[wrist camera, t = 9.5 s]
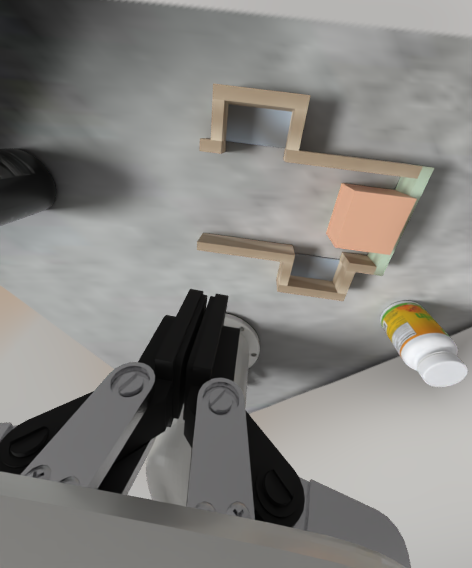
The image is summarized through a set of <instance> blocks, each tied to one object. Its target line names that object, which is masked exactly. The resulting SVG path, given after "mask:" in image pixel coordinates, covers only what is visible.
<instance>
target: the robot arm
mask: <svg viewBox="0 0 472 568" xmlns="http://www.w3.org/2000/svg"><path fill="white" fill-rule="evenodd" d="M227 302H228V296H226V295H221V294H216V295H215V297H213V296H211V297H210V299H209V302H208V305H207V308H206V303H207V295H203V291H199V290H193V289H190V290H189V292H188V294H187V296H186V298H185V300H184V302H183V304H182V306H181V308H180V310H179V312H178V314H177V316H176V317H174V316H169V315H166V316H165V317H164V318H163V320H162V321H161V323H160V325H159V327H158V328H157V330H156V332H155V333H154V335H153V337H152V339H151V340H150V342H149V344H148V346H147V347H146V349H145V351H144V353H143V354H142V356H141V358H140V360H139V361H138V362H131V363H127V364H123V365H121V366H119V367H117V368H115V369H114V370H113V371H112V372H111V373H110V374H109V375H108V376H107V377H106V378H105V379H104V381H103V382H102V383H101V384H100V385H99V386H98V387H97V388H96V390H95V391H93V392H91V393H89V394H86V395H84V396H82V397H79V398H77V399H75V400H73V401H70V402H68V403H66V404H63V405H61V406H59V407H57V408H54V409H52V410H50V411H47V412H45V413H43V414H41V415H38V416H36V417H34V418H31V419H29V420H27V421H25V422H23V423H22V424H20V425H18V426H12V424H11V423H0V568H411V565H410V560H409V555H408V551H407V548H406V545H405V542H404V539H403V537H402V536H401V534H400V532H399V531H398V529H397V527H396V526H395V525H394V524H393V523H392V522H391V521H390V519H389V518H388V517H387V516H385V515H384V514H382V513H381V512H379V511H378V510H376V509H374V508H372V507H369V506H367V505H365V504H363V503H361V502H359V501H357V500H355V499H352V498H350V497H348V496H346V495H344V494H342V493H340V492H337V491H335V490H333V489H331V488H329V487H327V486H324V485H322V484H320V483H318V482H316V481H314V480H312V479H311V480H310V482H308V481H306V480H304V479H302V478H300V477H298V475H297V474H296V472H295V470H294V469H293V468H292V467H291V465H290V464H289V463H288V462H287V461H286V459H285V458H284V457H283V456H282V455H281V453H280V452H279V451H278V450H277V448H276V447H275V446H274V445H273V443H272V442H271V441H270V440H269V439H268V437H267V436H266V435H265V434H264V432H263V431H262V430H261V429H260V428H259V426H258V425H257V424H256V423H255V422H254V420H253V419H252V418H251V417H250V415H249V414H248V413H247V412H246V410H245V408H246V394H247V379H248V368H250V367H251V366H252V365H253V364H254V363H255V362H256V360H257V358H258V356H259V352H260V343H259V338H258V336H257V334H256V332H255V331H254V329H253V328H252V327H251V326H250V325H249V324H248V323H247V322H245V321H243V320H242V319H240V318H238V317H236V316H233V315H230V314H226V308H227ZM146 458H147V462H146V476H147V483H148V487H149V491H150V494H151V497H152V500H149V499H144V498H139V497H134V496H129V495H127V494H128V492H129V490H130V488H131V486H132V485H133V483H134V481H135V479H136V477H137V475H138V473H139V471H140V469H141V467H142V465H143V463H144V461H145V459H146Z"/></svg>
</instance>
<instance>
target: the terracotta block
mask: <svg viewBox="0 0 472 568" xmlns="http://www.w3.org/2000/svg"><path fill="white" fill-rule="evenodd" d="M416 200H417V199H416V198H414V197H411V196H409V195H406V194H404V193H401V192H399V191H396V190H392V189H384V188H376V187H368V186H361V185H353V184H345V183H342V184H341V187H340V190H339V194H338V197H337V200H336V203H335V206H334V210H333V213H332V216H331V219H330V222H329V226H328V229H327V232H326V234H327V235H328V237H329V238H330V240H331V242H332V243H333V245H334V246H335V248H343V249H350V250H357V251H364V252H371V253H379V254H386V255H390V254H391V252H392V250H393V248H394V246H395V244H396V242H397V240H398V237H399V235H400V233H401V231H402V229H403V227H404V225H405V223H406V221H407V219H408V217H409V214H410V212H411V210H412V208H413V206H414V204H415V202H416Z"/></svg>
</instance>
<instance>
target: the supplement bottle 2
mask: <svg viewBox="0 0 472 568" xmlns="http://www.w3.org/2000/svg"><path fill="white" fill-rule="evenodd" d="M380 323H381V325H382V327H383V329H384V331H385V332H386V334H387V336H388V337H389V339H390V340H391V342H392V344H393V345H394V347H395V348H396V350H397V352H398V353H399V355H400V356H401V358H402V360H403V361H404V362H405V364H406V365H407V366H409V367H410V368H412V369H413V370H416V371H418V373H419V374H420V376H421V377H422V378H423V380H424V381H425V382H426V383H427V384H428V385H430V386H434V387H447V386H451V385H454V384H457V383H458V382H460V381H461V380H463V379H464V378H465V377H466V375H467V373H468V369H467V367H466V365H465V364H464V363H463V362H462V360H461V359H460V358H459V357H458V356H457V354H458V348H457V345H456V343H455V342H454V341H453V340H452V338H451V337H450V336H449V335H448V334H447V333H446V332H445V331H444V330H443V329H442V328H441V327H440V326H439V325H438V323H437V322H436V321H435V320H434V319H433V318H432V317H431V316H430V315H429V314H428V313H427V311H426V310H425V309H424V308H423V307H422V306H421V305H419V304H418V303H416V302H413V301H400V302H396V303H394V304H392V305H390V306H388V307H387V308H386V309H385V310H384V311H383V313H382V315H381V318H380Z"/></svg>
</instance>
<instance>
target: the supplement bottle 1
mask: <svg viewBox="0 0 472 568" xmlns="http://www.w3.org/2000/svg"><path fill="white" fill-rule="evenodd" d="M55 199H56V186H55V183H54V180H53V178H52V176H51V174H50V172H49V171H48V169H47V168H46V167H45V166H44V165H43V164H42V163H41V162H40V161H39V160H38V159H37V158H36V157H34V156H33V155H31V154H29V153H27V152H25V151H23V150H19V149H11V148H10V149H0V226H2V225H5V224H8V223H10V222H13V221H16V220H19V219H22V218H25V217H27V216H30V215H33V214H36V213H39V212H41V211H44V210H46V209H48V208H50V207H51V206H52V205H53V203H54V201H55Z"/></svg>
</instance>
